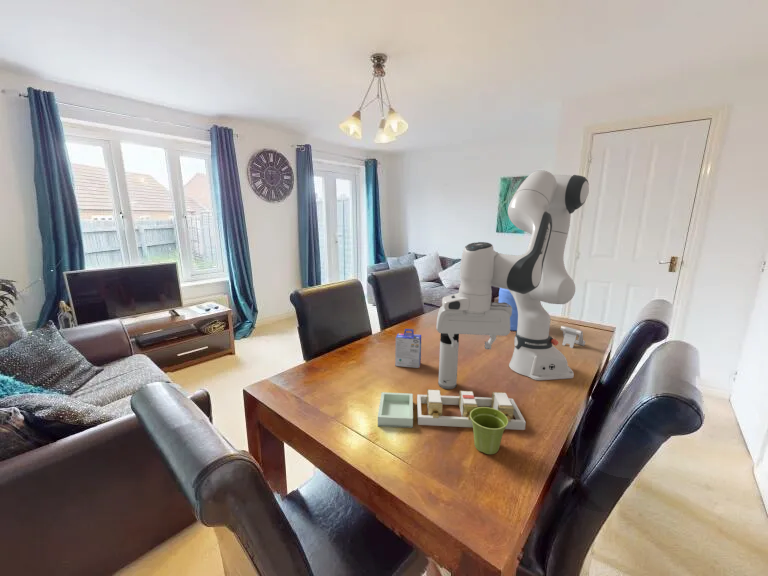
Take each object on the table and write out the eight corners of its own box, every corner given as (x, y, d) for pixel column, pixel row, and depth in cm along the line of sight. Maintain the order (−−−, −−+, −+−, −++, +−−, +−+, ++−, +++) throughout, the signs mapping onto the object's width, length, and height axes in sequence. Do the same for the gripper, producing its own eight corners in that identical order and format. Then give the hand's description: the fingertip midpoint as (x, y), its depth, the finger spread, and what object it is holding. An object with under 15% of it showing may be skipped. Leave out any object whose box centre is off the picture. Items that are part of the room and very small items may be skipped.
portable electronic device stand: (584, 345, 149) (587, 328, 147) (577, 349, 145) (579, 332, 143) (565, 339, 156) (567, 323, 154) (557, 343, 151) (559, 326, 149)
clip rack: (512, 405, 103) (513, 396, 102) (525, 430, 91) (526, 419, 91) (417, 401, 105) (417, 392, 105) (417, 424, 94) (418, 414, 93)
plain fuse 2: (503, 408, 102) (505, 391, 100) (511, 425, 93) (513, 407, 92) (491, 408, 102) (492, 390, 100) (498, 425, 94) (499, 406, 92)
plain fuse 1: (439, 405, 103) (439, 388, 102) (441, 422, 95) (442, 404, 94) (426, 405, 103) (427, 388, 102) (428, 421, 95) (428, 403, 94)
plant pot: (461, 437, 89) (463, 409, 87) (492, 432, 91) (495, 404, 89) (478, 462, 80) (481, 431, 78) (512, 456, 82) (516, 426, 80)
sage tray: (412, 401, 105) (412, 393, 104) (412, 428, 92) (412, 418, 92) (381, 400, 106) (381, 392, 105) (377, 426, 93) (377, 417, 92)
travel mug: (446, 391, 111) (449, 336, 106) (434, 382, 117) (436, 330, 112) (460, 387, 114) (463, 333, 109) (448, 378, 119) (451, 327, 115)
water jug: (532, 331, 166) (538, 277, 160) (501, 331, 167) (506, 277, 160) (520, 321, 182) (525, 272, 175) (492, 321, 182) (496, 272, 175)
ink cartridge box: (421, 362, 133) (422, 328, 129) (419, 368, 127) (420, 333, 124) (397, 360, 134) (397, 327, 131) (394, 366, 129) (395, 332, 126)
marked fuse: (471, 407, 102) (472, 389, 101) (476, 424, 94) (477, 404, 93) (458, 406, 103) (459, 388, 101) (462, 423, 94) (464, 404, 93)
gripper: (509, 299, 93) (505, 345, 96) (437, 297, 94) (434, 342, 97) (516, 305, 87) (511, 354, 90) (438, 303, 88) (436, 350, 91)
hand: (470, 347), depth 94 cm, fingers open, 8 cm apart
